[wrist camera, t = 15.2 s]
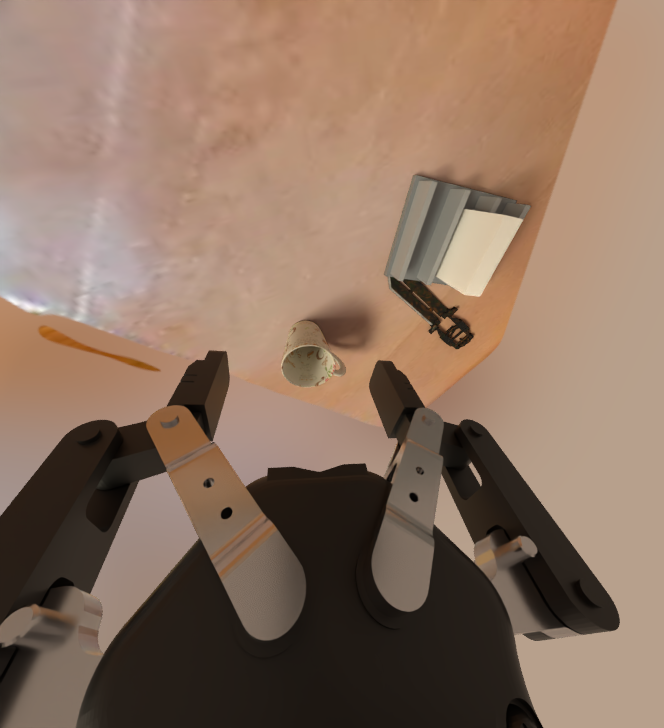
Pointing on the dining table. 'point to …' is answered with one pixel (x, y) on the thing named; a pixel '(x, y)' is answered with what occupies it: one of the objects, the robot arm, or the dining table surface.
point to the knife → (430, 310)
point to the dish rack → (436, 225)
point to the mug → (309, 356)
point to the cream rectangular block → (476, 250)
